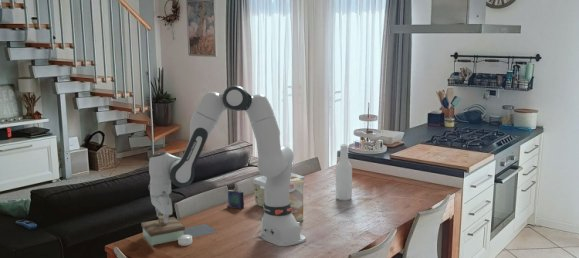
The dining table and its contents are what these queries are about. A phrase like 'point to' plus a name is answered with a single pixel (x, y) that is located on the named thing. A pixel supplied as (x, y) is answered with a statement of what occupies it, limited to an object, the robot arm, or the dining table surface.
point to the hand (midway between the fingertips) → (162, 219)
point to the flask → (235, 198)
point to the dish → (161, 237)
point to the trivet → (199, 230)
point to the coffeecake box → (296, 198)
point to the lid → (162, 226)
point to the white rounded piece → (185, 240)
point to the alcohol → (344, 175)
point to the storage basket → (260, 184)
